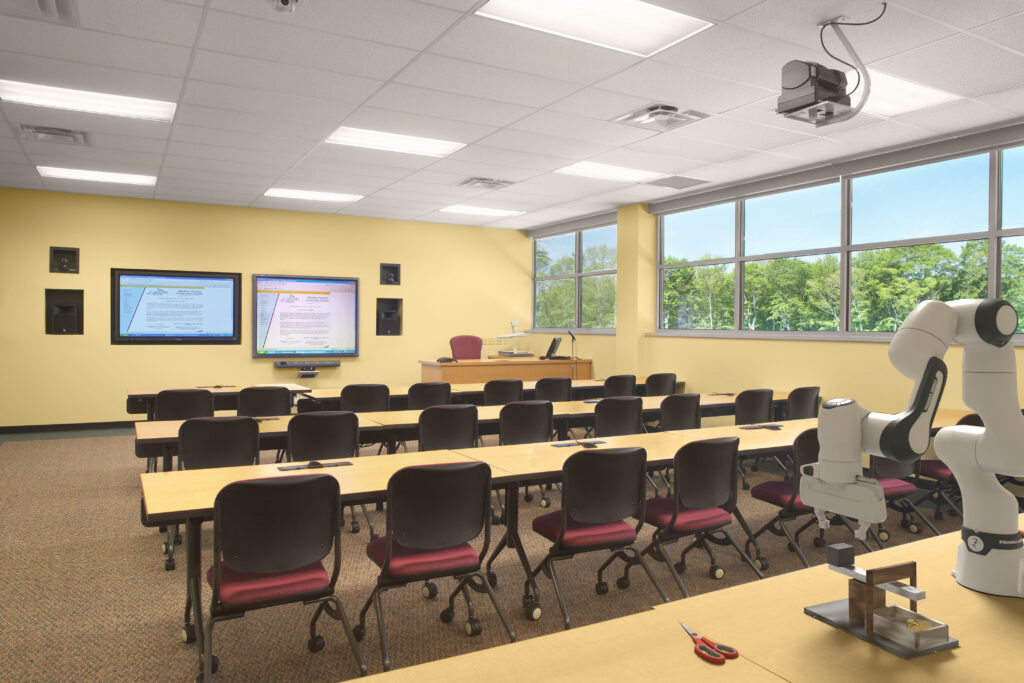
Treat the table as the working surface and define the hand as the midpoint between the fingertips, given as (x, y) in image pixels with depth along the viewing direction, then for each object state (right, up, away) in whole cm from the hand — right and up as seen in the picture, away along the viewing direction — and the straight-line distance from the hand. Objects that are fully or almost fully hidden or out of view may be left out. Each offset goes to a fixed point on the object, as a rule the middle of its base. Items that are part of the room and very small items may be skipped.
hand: (841, 533), depth 147 cm
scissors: (-37, -19, -13) cm, 43 cm away
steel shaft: (+3, -8, -8) cm, 12 cm away
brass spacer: (+7, -13, -17) cm, 22 cm away
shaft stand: (+3, -18, -8) cm, 20 cm away
